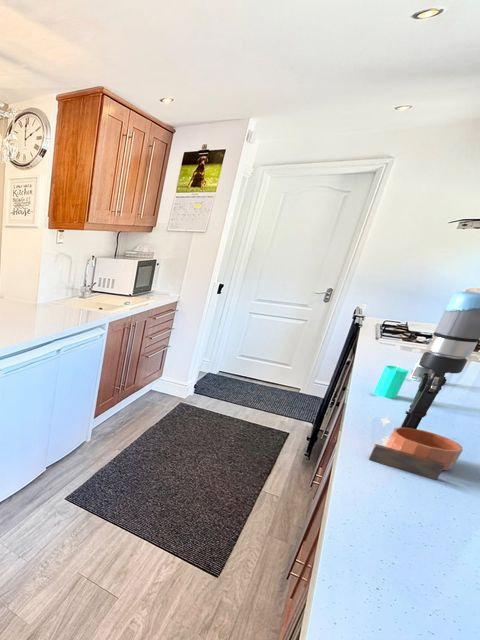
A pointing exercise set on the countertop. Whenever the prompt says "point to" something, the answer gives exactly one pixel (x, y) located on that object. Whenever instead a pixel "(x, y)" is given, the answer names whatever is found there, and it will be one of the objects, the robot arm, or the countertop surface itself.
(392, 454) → the bar
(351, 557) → the countertop surface
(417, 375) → the pill bottle
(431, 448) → the bowl
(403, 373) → the candle
